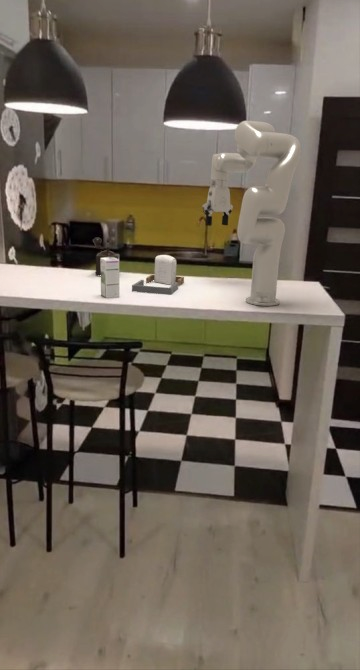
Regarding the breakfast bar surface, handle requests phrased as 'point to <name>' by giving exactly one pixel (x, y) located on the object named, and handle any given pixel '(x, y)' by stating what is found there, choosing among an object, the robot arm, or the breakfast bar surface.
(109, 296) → the syrup box
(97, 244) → the twin bell alarm clock
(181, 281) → the dock
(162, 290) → the bay
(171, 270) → the photo printer
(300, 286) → the breakfast bar surface
